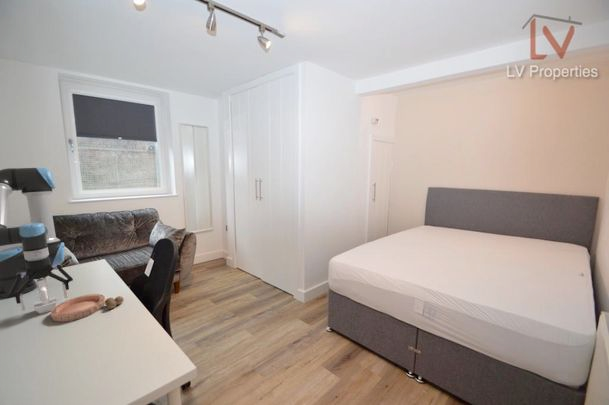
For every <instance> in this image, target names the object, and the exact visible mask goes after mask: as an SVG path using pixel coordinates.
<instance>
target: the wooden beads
mask: <svg viewBox="0 0 609 405" xmlns="http://www.w3.org/2000/svg"><path fill="white" fill-rule="evenodd" d="M123 302H124V297H123V296H116V297H115V298H113V297H108V298H105V305H104V306H106V308H107V309H109V310H110V309H111V310H113V309H115V308H116V306H117V305H121V304H123Z"/></svg>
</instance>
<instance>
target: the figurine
mask: <svg viewBox="0 0 609 405" xmlns="http://www.w3.org/2000/svg"><path fill="white" fill-rule="evenodd" d="M35 281H36V284H37V287H38V294H39V300H40V301H35V302H33V303H34V304H33V310H34V311H36V312H37V313H38V314H40V315H41V314H44V313H48V312H51V311H52V310H53V308H55V307H56V306H57V302H58V301H57V296H53V297H51V298H50V297H49V292H48V291H49V290H48V283H47V277H46V278H40V279H37V280H35Z"/></svg>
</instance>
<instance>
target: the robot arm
mask: <svg viewBox="0 0 609 405" xmlns="http://www.w3.org/2000/svg"><path fill="white" fill-rule="evenodd" d="M55 185H56V184H55V182H54V179H53V175H52V172H51V171H50V170H49V169H48V168H45V167H22V168H21V167H17V168H13V167H8V168H7V167H6V168H3V169H0V247H3V246H9V245H11V246H12V245H16V244H21V245H17V246H13V247H9V248H5V249H2V250H0V300H2V299H9V298H15V302H16V304H20V305H21V311H25V310H26V307H25V302H24V298H23V295H24V294H27V293H29V292H31V291H33V290H35V289H37V287H38V284H37V282H36V281H37V280H38V279H40V278H46V279H47V277H50V278H52V279H54V280H57V281H59V282H61V283H62V284H61V286H62V290H63V296H64V299H66V298H68V294H67V290H70V286H69V283H70V282H73V280H74V279H73V277H72V276H71V275H70V274H69V273H68V272H67V271H66V270H65V269H63V268H62V266H61V264H62V263H63V262H64V261H65V243H64V242H61V239H60V238H58V237H57V235H56V229H55V222H54V217H53V210H52V204H51V197H50V195H51V194H52V193H53V190H54V189H56V186H55ZM13 191H14V192H15V191H21V195H23V196H25V197H26V200H27V201H26V202H27V208H28V212H29V218H30V223H26V224H21V225H19V226H13V227H8V226H9V210H10V209H9V207H10V206H9V204H10V202H9V201H10V195H11V194H12V193H13ZM53 270H56V271H57V270H58V271H59V272H60V273H61V274H62V275H63V276H64V277H65V278H64V277H62V276H59V275H58V274H56V273H54V272H52V271H53Z"/></svg>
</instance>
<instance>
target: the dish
mask: <svg viewBox="0 0 609 405" xmlns="http://www.w3.org/2000/svg"><path fill="white" fill-rule="evenodd" d="M105 301H106V297H105V295H103V294H100V293H92V294H85V295H80V296H76V297H73V298H70V299H67V300H66V301H63V302H62V303H59V304H56V305H55V308H53V310H52V311H50V316H51V317H50V318H51V319H52V320H53V321H54V322H58V323H65V322H72V321H76V320H79V319H83V318H86V317H88V316H91V315H92V314H95V313H96V312H98V311H100V310H101V309H103V307H104V306H106V305H105Z"/></svg>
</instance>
